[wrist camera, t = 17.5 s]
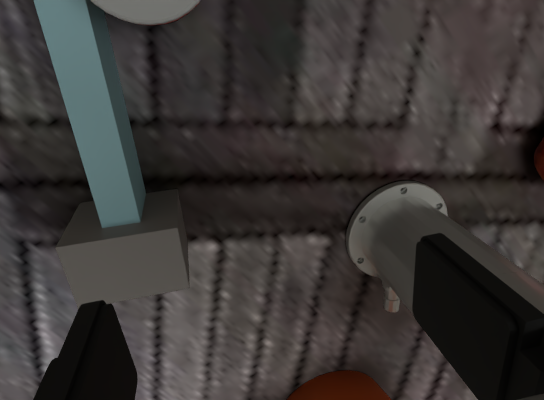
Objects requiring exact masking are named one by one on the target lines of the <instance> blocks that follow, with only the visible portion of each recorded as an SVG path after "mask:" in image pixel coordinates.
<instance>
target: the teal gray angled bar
mask: <svg viewBox="0 0 544 400" xmlns="http://www.w3.org/2000/svg"><path fill="white" fill-rule="evenodd" d="M34 3H35V7H36V10H37V13H38V17H39V20H40V23H41V27H42V30H43V33H44V37H45V40H46V43H47V47H48V50H49V53H50V56H51V60H52V63H53V66H54V70H55V73H56V76H57V80H58V83H59V86H60V90H61V93H62V96H63V100H64V103H65V106H66V110H67V113H68V116H69V120H70V123H71V126H72V129H73V133H74V136H75V139H76V143H77V146H78V149H79V153H80V156H81V159H82V163H83V166H84V169H85V173H86V176H87V179H88V183H89V186H90V189H91V193H92V196H93V199H94V201H89V202H83V203H80V204H79V206H78V208H77V209H76V211H75V213H74V215H73V217H72V218H71V220H70V222H69V224H68V226H67V227H66V229H65V231H64V233H63V235H62V237H61V238H60V240H59V242H58V244H57V246H56V247H55V248H56V251H57V253H58V256H59V259H60V261H61V264H62V267H63V269H64V272H65V275H66V277H67V280H68V283H69V285H70V288H71V291H72V293H73V296H74V299H75V301H76V304H77V307H78V309H79V307H80V306H81V305H82V304H84V303H89V302H94V301H100V300H104V301H105V302H106V304H109V303H114V302H120V301H125V300H130V299H135V298H141V297H146V296H151V295H156V294H162V293H167V292H172V291H177V290H183V289H188V288H190V287H189V264H188V241H187V235H186V230H185V225H184V220H183V214H182V209H181V204H180V199H179V193H178V189H172V190H165V191H158V192H152V193H146V191H145V187H144V182H143V178H142V174H141V169H140V165H139V161H138V156H137V152H136V148H135V143H134V139H133V135H132V130H131V126H130V122H129V118H128V113H127V109H126V105H125V100H124V96H123V92H122V87H121V83H120V79H119V74H118V70H117V66H116V61H115V57H114V53H113V48H112V44H111V40H110V35H109V31H108V27H107V23H106V18H105V14H104V10H102V9H101V8H99V7H98V6H97V5H95V4H94V3H93V2H92V1H91V0H34Z"/></svg>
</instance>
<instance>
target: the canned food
mask: <svg viewBox="0 0 544 400" xmlns="http://www.w3.org/2000/svg"><path fill="white" fill-rule="evenodd" d="M91 1H92V2H93V3H94V4H95V5H97V6H98V7H99V8H101V9H102V10H104V11H105V12H106V13H108V14H110V15H112V16H114V17H116V18H119V19H121V20H124V21H127V22H131V23H134V24H139V25H151V26H153V25H161V24H168V23H171V22H174V21H177V20H179V19H180V18H182V17H184V16H185V15H187V14H188V13H189V12H191V11H192V10H193V9H194V8H195V7H196V6H197V5H198V4H199V2H200V1H201V0H91Z"/></svg>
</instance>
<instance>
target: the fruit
mask: <svg viewBox="0 0 544 400" xmlns="http://www.w3.org/2000/svg"><path fill="white" fill-rule="evenodd" d="M534 164H535V167H536V169H537V171H538V173H539V175H540V176H541V178H542V180H543V181H544V137H543V139H542V141H541V142H540V144H539V145H538V147H537V148H536V150H535V153H534Z"/></svg>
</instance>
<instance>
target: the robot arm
mask: <svg viewBox="0 0 544 400" xmlns="http://www.w3.org/2000/svg"><path fill="white" fill-rule="evenodd" d="M346 248H347V251H348V254H349V256H350V258H351V259H352V261H353V262H354V264H355V265H356V266H357V267H358V269H360V270H361V271H362V272H364V273H366V274H368V275H370V276H373V277H378V278H380V279H381V280H382V282H383V283H382V286H383V288H384V289H385V293H384V302H383V308H384V309H385V310H386V311H388V312H397V311H398V310H399V307H400V300H401V301H402V302H403V303H404V305H405V306H406V307H407V308H408V310H409V311H410V312H411V313H412V315H413V316H414V317H415V319H416V320H417V322H418V323H419V324H420V326H421V327H422V328H423V330H424V331H425V332H426V333H427V335H428V336H429V337H430V338H431V340H432V341H433V342H434V344H435V345H436V346H437V347H438V349H439V350H440V351H441V353H442V354H443V355H444V356H445V358H446V359H447V360H448V362H449V363H450V364H451V365H452V367H453V368H454V369H455V371H456V372H457V373H458V374H459V376H460V377H461V378H462V380H463V381H464V382H465V383H466V385H467V386H468V387H469V389H470V390H471V391H472V392H473V394H474V395H475V396H476V398H477V399H478V400H544V285H543V284H542V283H540V282H539V281H538V280H536V279H535V278H533V277H532V276H531V275H529V274H528V273H526V272H525V271H523V270H522V269H521V268H519V267H518V266H516V265H515V264H514V263H512V262H511V261H509V260H508V259H507V258H505V257H504V256H502V255H501V254H500V253H498V252H497V251H495V250H494V249H493V248H491V247H490V246H488V245H487V244H486V243H484V242H483V241H481V240H480V239H479V238H477V237H476V236H474V235H473V234H471V233H470V232H469V231H467V230H466V229H464V228H463V227H462V226H460V225H459V224H457V223H456V222H455V221H453V220H452V219H450V218H449V217H448V214H447V207H446V205H445V202H444V200H443V199H442V197H441V196H440V194H439V193H437V192H436V191H435V190H434V189H432V188H431V187H429V186H427V185H426V184H423V183H420V182H417V181H399V182H395V183H391V184H388V185H386V186H384V187H382V188H380V189H378V190H376V191H375V192H374V193H372V194H371V195H369V196H368V197H367V198H366V199H365V200H364V201H363V202H362V203H361V204H360V206H359V207H358V208H357V209H356V211H355V212H354V214H353V216H352V218H351V220H350V222H349V225H348V228H347V233H346ZM136 388H137V371H136V368H135V365H134V362H133V360H132V357H131V354H130V351H129V349H128V346H127V343H126V340H125V337H124V335H123V332H122V329H121V326H120V323H119V321H118V318H117V315H116V312H115V310H114V307H113V305H112V304H106V302H105V301H104V300H100V301H94V302H89V303H84V304H82V305H81V306H80V307H79V309H78V312H77V314H76V316H75V319H74V321H73V323H72V326H71V328H70V330H69V333H68V335H67V337H66V340H65V342H64V344H63V347H62V349H61V351H60V354H59V356H58V358H55V359H53V360H52V361H51V363H50V364H49V366H48V368H47V370H46V372H45V375H44V377H43V379H42V381H41V384H40V386H39V388H38V390H37V393H36V395H35V397H34V399H33V400H135V394H136Z"/></svg>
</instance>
